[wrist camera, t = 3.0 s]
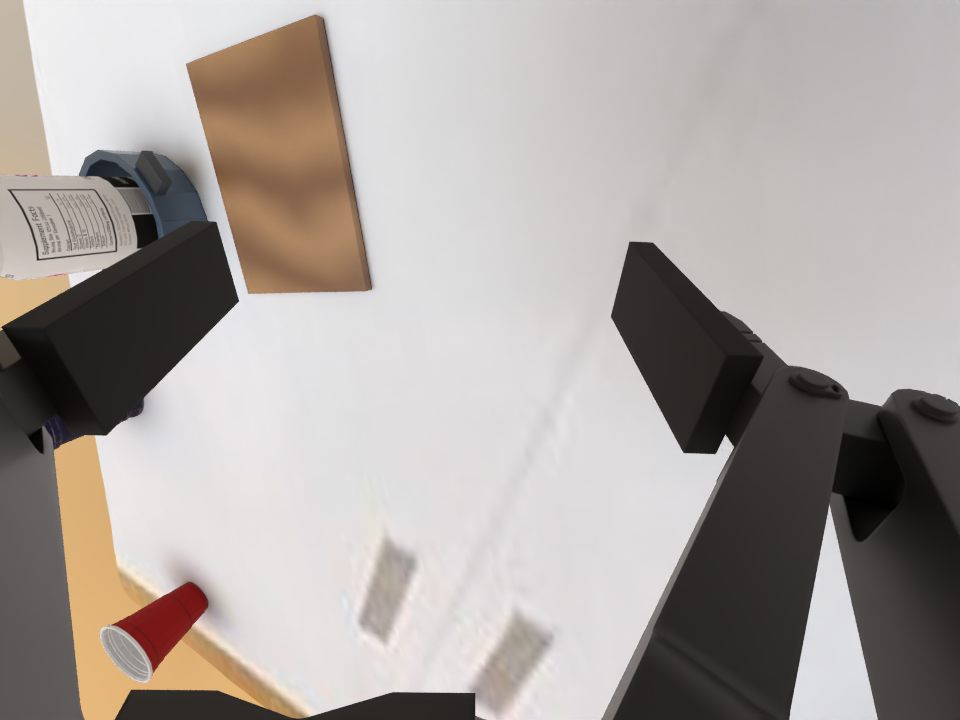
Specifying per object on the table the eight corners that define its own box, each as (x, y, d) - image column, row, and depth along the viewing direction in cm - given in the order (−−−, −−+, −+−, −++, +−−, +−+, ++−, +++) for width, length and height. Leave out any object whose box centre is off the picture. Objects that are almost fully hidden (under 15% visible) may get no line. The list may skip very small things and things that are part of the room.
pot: (109, 215, 51) (62, 217, 47) (159, 110, 42) (105, 102, 38) (173, 307, 51) (131, 317, 48) (235, 224, 43) (190, 227, 39)
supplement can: (185, 273, 48) (4, 304, 36) (136, 224, 49) (-59, 237, 36) (201, 213, 44) (2, 223, 31) (147, 160, 45) (-69, 149, 32)
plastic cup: (229, 620, 75) (156, 689, 65) (198, 620, 80) (126, 682, 70) (196, 568, 73) (116, 629, 63) (167, 571, 79) (89, 628, 68)
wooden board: (194, 65, 38) (185, 63, 38) (323, 17, 32) (315, 13, 31) (254, 292, 45) (248, 293, 44) (372, 289, 38) (366, 291, 38)
